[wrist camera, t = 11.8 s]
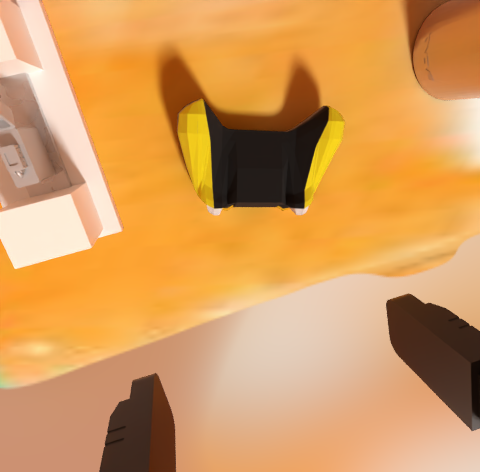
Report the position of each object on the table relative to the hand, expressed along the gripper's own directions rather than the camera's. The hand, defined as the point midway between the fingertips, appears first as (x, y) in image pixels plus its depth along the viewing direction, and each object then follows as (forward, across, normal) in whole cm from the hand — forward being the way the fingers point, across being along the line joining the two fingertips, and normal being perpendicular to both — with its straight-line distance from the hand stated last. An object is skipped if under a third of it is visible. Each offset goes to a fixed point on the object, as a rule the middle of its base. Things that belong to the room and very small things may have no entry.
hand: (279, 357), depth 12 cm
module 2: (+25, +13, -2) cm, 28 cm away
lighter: (+24, +13, -10) cm, 29 cm away
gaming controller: (+26, -6, -3) cm, 27 cm away
